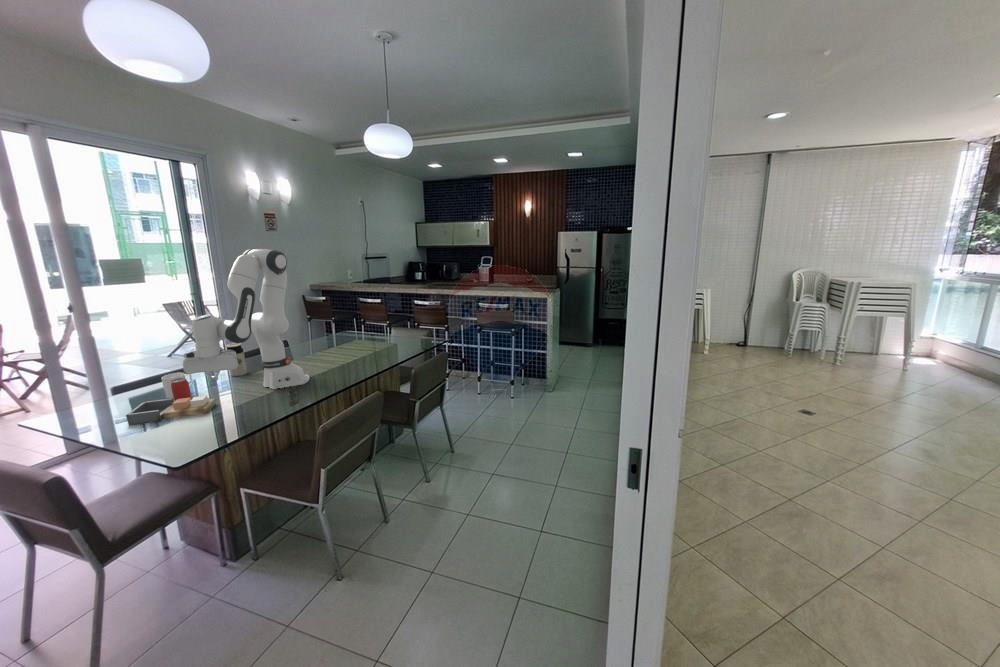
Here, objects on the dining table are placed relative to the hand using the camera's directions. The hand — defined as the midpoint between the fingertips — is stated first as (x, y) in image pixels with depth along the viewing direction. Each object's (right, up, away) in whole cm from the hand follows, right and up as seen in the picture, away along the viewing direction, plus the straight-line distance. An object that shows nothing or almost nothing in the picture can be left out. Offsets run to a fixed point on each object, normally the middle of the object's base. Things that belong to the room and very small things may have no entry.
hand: (214, 380), depth 175 cm
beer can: (-21, -13, +9) cm, 26 cm away
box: (-24, -16, -4) cm, 29 cm away
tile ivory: (-7, -11, +1) cm, 13 cm away
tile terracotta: (-13, -12, -1) cm, 18 cm away
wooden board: (-11, -15, 0) cm, 18 cm away
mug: (-31, -10, +19) cm, 38 cm away
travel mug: (-21, -3, +48) cm, 53 cm away
